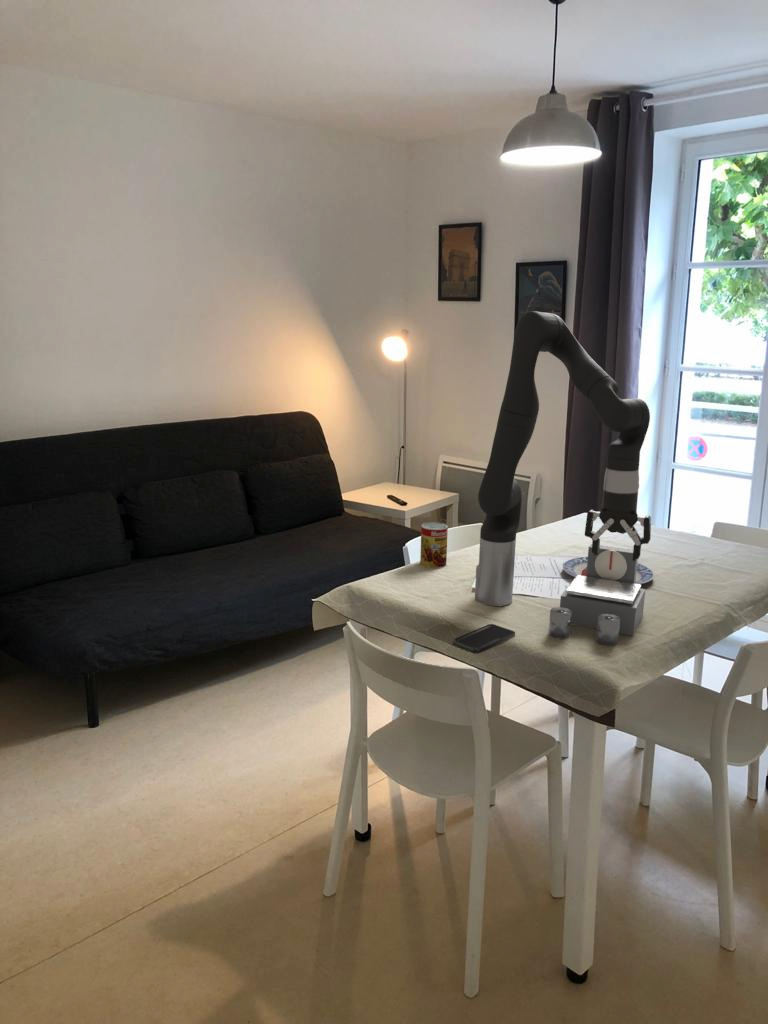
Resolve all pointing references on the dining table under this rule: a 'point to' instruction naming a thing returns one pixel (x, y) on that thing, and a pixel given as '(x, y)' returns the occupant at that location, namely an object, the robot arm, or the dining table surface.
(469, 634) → the phone
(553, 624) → the cylinder
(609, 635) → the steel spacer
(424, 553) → the canned food
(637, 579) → the ceramic plate
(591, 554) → the scale
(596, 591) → the scale pan
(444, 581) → the dining table surface
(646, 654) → the dining table surface
